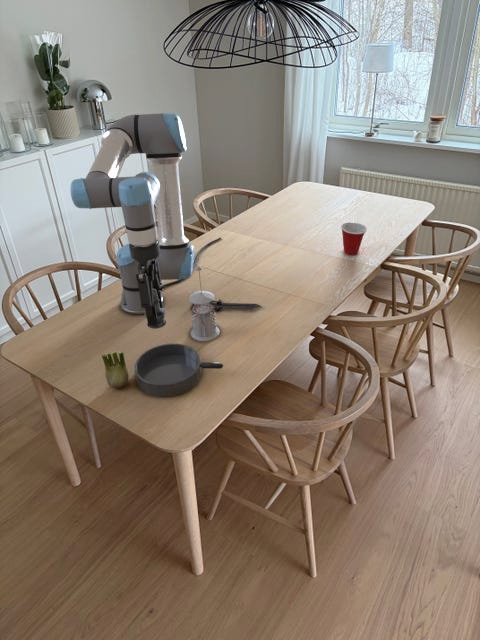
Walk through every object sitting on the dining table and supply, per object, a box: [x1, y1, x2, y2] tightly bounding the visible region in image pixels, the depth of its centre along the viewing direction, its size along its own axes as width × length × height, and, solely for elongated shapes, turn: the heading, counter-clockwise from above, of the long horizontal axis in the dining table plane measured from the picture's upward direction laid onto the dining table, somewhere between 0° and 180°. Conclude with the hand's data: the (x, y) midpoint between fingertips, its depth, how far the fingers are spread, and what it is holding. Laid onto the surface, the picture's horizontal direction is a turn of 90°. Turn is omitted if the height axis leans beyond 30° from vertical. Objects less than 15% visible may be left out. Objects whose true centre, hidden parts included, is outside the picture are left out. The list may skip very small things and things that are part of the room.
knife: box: [191, 299, 263, 313], centre depth 170 cm, size 25×6×1 cm, turn 78°
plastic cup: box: [340, 221, 368, 256], centre depth 200 cm, size 11×11×12 cm
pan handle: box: [200, 361, 224, 370], centre depth 138 cm, size 7×2×2 cm, turn 86°
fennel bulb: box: [101, 350, 129, 389], centre depth 134 cm, size 6×5×12 cm
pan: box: [134, 343, 203, 398], centre depth 140 cm, size 19×19×4 cm
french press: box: [188, 265, 220, 342], centre depth 151 cm, size 10×12×25 cm
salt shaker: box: [144, 289, 167, 330], centre depth 130 cm, size 6×6×12 cm
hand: (156, 317), depth 132 cm, fingers closed on salt shaker, 6 cm apart
